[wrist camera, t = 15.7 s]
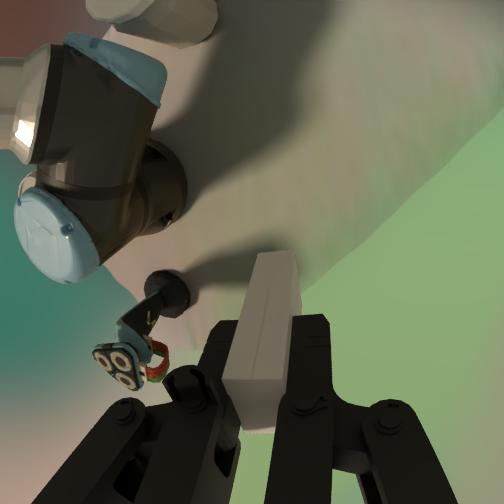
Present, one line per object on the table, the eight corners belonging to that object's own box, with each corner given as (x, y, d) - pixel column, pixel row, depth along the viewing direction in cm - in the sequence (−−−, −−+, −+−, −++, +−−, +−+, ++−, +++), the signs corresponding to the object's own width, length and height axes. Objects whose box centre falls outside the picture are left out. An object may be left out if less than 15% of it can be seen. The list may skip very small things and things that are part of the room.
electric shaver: (144, 265, 54) (77, 333, 37) (205, 279, 53) (152, 361, 35) (147, 306, 58) (91, 377, 41) (204, 321, 57) (159, 404, 39)
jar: (170, 61, 38) (91, 46, 22) (150, 12, 35) (71, -16, 19) (231, 31, 35) (174, -10, 19) (207, -19, 32) (145, -70, 16)
